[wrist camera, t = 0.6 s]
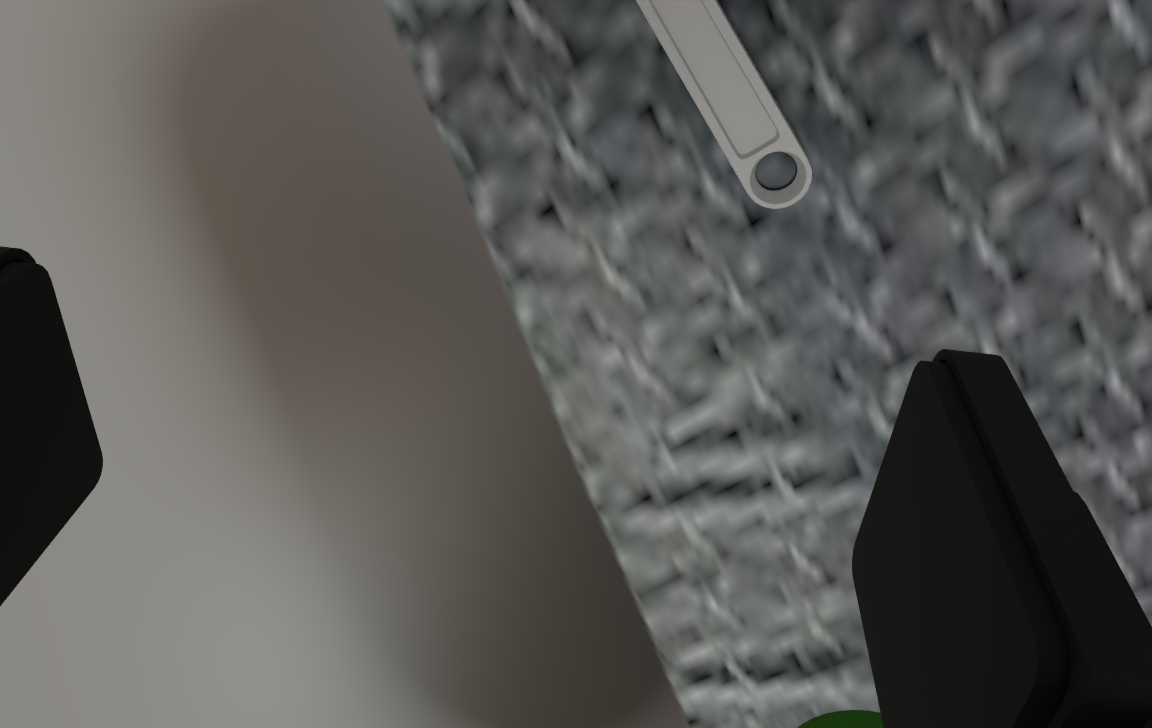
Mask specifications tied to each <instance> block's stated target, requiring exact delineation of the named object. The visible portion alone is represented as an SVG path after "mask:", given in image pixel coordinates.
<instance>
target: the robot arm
mask: <svg viewBox="0 0 1152 728" xmlns="http://www.w3.org/2000/svg"><path fill="white" fill-rule="evenodd" d="M102 467H103V457H102V452H101V448H100V445H99V441H98V438H97V434H96V431H95V428H94V424H93V421H92V418H91V414H90V411H89V408H88V404H87V401H86V397H85V394H84V390H83V387H82V384H81V380H80V377H79V373H78V370H77V366H76V363H75V359H74V356H73V353H72V349H71V346H70V342H69V339H68V336H67V332H66V329H65V326H64V322H63V319H62V315H61V312H60V308H59V305H58V302H57V298H56V295H55V291H54V288H53V285H52V281H51V278H50V276H49V274H48V272H47V270H46V269H45V268H44V267H43V266H41V265H39V264H36V262H35V260H34V259H33V258H32V256H31V255H30V254H29V253H28V252H26V251H24V250H22V249H19V248H18V249H17V248H9V247H0V606H1V605H2V603H3V602H4V601H5V600H6V598H7V597H8V596H9V595H10V593H11V592H12V591H13V590H14V588H15V587H16V586H17V584H18V583H19V582H20V581H21V579H22V578H23V577H24V576H25V575H26V573H27V572H28V571H29V569H30V568H31V567H32V566H33V564H34V563H35V562H36V561H37V559H38V558H39V557H40V556H41V554H42V553H43V552H44V551H45V549H46V548H47V547H48V546H49V544H50V543H51V542H52V541H53V539H54V538H55V537H56V536H57V534H58V533H59V532H60V530H61V529H62V528H63V527H64V525H65V524H66V523H67V522H68V520H69V519H70V518H71V517H72V515H73V514H74V513H75V512H76V510H77V509H78V508H79V506H80V505H81V504H82V503H83V502H84V500H85V499H86V498H87V496H88V495H89V494H90V493H91V491H92V490H93V489H94V488H95V486H96V484H97V483H98V481H99V478H100V476H101V472H102ZM852 573H853V580H854V585H855V590H856V595H857V600H858V604H859V609H860V614H861V619H862V624H863V629H864V634H865V638H866V643H867V648H868V653H869V658H870V663H871V668H872V673H873V677H874V682H875V687H876V692H877V697H878V702H879V707H880V711H881V716H882V721H883V726H884V728H1152V627H1151V625H1150V623H1149V621H1148V619H1147V617H1146V615H1145V614H1144V612H1143V610H1142V608H1141V606H1140V604H1139V602H1138V601H1137V599H1136V597H1135V595H1134V593H1133V591H1132V589H1131V587H1130V586H1129V584H1128V582H1127V580H1126V578H1125V576H1124V574H1123V572H1122V571H1121V569H1120V567H1119V565H1118V563H1117V561H1116V559H1115V557H1114V556H1113V554H1112V552H1111V550H1110V548H1109V546H1108V544H1107V542H1106V541H1105V539H1104V537H1103V535H1102V533H1101V531H1100V529H1099V527H1098V526H1097V524H1096V522H1095V520H1094V518H1093V516H1092V514H1091V513H1090V511H1089V509H1088V507H1087V505H1086V504H1085V502H1084V501H1083V500H1082V498H1081V497H1080V496H1079V494H1078V493H1076V492H1074V491H1073V490H1072V488H1071V486H1070V484H1069V482H1068V480H1067V478H1066V476H1065V475H1064V473H1063V471H1062V469H1061V467H1060V465H1059V463H1058V461H1057V459H1056V457H1055V456H1054V454H1053V452H1052V450H1051V448H1050V446H1049V444H1048V442H1047V440H1046V438H1045V437H1044V435H1043V433H1042V431H1041V429H1040V427H1039V425H1038V423H1037V421H1036V419H1035V418H1034V416H1033V414H1032V412H1031V410H1030V408H1029V406H1028V404H1027V402H1026V400H1025V399H1024V397H1023V395H1022V393H1021V391H1020V389H1019V387H1018V385H1017V383H1016V381H1015V380H1014V378H1013V376H1012V374H1011V372H1010V370H1009V368H1008V366H1007V364H1006V362H1005V361H1004V360H1003V359H1002V357H1001V356H998V355H993V354H983V353H974V352H965V351H956V350H947V349H943V350H941V351H939V352H938V353H937V355H936V356H935V358H934V359H933V362H930V361H920V362H918V364H917V365H916V366H915V368H914V371H913V373H912V376H911V379H910V382H909V385H908V387H907V390H906V393H905V396H904V399H903V402H902V405H901V408H900V411H899V414H898V417H897V420H896V423H895V426H894V429H893V432H892V435H891V438H890V441H889V444H888V447H887V450H886V453H885V455H884V458H883V461H882V464H881V467H880V470H879V473H878V476H877V479H876V482H875V485H874V488H873V491H872V494H871V497H870V500H869V503H868V506H867V509H866V512H865V515H864V518H863V520H862V523H861V526H860V529H859V532H858V535H857V538H856V541H855V545H854V549H853V557H852Z"/></svg>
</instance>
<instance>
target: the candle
mask: <svg viewBox="0 0 1152 728" xmlns="http://www.w3.org/2000/svg"><path fill="white" fill-rule="evenodd" d="M798 728H884V726H883V721H882V716H881V713H878V712H872V711H863V710H848V711H838V712H833V713H827V714H824V715H821V716H818V717H815V718H813V719H811V720H809V721H807V722H805V723H803V724H802V725H801V726H799V727H798Z"/></svg>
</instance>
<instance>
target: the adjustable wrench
mask: <svg viewBox="0 0 1152 728" xmlns="http://www.w3.org/2000/svg"><path fill="white" fill-rule="evenodd" d="M636 1H637V3H638V5H639V7H640V8H641V10H642V12H643V14H644V15H645V17H646V19H647V20H648V22H649V24H650V26H651V27H652V29H653V31H654V33H655V34H656V36H657V38H658V39H659V41H660V43H661V45H662V46H663V48H664V50H665V52H666V53H667V55H668V57H669V58H670V60H671V62H672V64H673V65H674V67H675V69H676V71H677V72H678V74H679V76H680V77H681V79H682V81H683V83H684V84H685V86H686V88H687V90H688V91H689V93H690V95H691V96H692V98H693V100H694V102H695V103H696V105H697V107H698V109H699V110H700V112H701V114H702V115H703V117H704V119H705V121H706V122H707V124H708V126H709V128H710V129H711V131H712V133H713V134H714V136H715V138H716V140H717V141H718V143H719V145H720V147H721V148H722V150H723V152H724V153H725V155H726V157H727V159H728V160H729V162H730V164H731V166H732V167H733V169H734V171H735V172H736V174H737V176H738V178H739V179H740V181H741V183H742V185H743V186H744V188H745V190H746V191H747V193H748V195H749V196H750V197H751V198H752V199H753V201H754V202H756V203H757V204H759V205H761V206H763V207H767V208H772V209H777V208H785V207H787V206H790V205H793V204H794V203H796V202H797V201H798V200H800V199H801V198H802V197H803V196H804V194H805V193H806V192H807V190H808V189H809V186H810V183H811V180H812V170H811V167H810V164H809V161H808V158H807V156H806V153H805V151H804V149H803V147H802V145H801V144H800V142H799V140H798V139H797V137H796V135H795V133H794V132H793V130H792V128H791V126H790V125H789V123H788V121H787V120H786V118H785V116H784V114H783V113H782V111H781V109H780V108H779V106H778V104H777V102H776V101H775V99H774V97H773V95H772V94H771V92H770V90H769V89H768V87H767V85H766V83H765V82H764V80H763V78H762V76H761V75H760V73H759V71H758V70H757V68H756V66H755V64H754V63H753V61H752V59H751V57H750V56H749V54H748V52H747V51H746V49H745V47H744V45H743V44H742V42H741V40H740V38H739V37H738V35H737V33H736V32H735V30H734V28H733V26H732V25H731V23H730V21H729V19H728V18H727V16H726V14H725V13H724V11H723V9H722V7H721V6H720V4H719V2H718V0H636ZM779 151H780V152H784V153H787V154H789V155H790V156H792V157H793V159H794V160H795V162H796V164H797V175H796V178H795V179H794V181H793V182H792V184H790V185H789V186H788V187H786V188H784V189H781V190H775V191H771V190H767V189H765V188H763V187H761V185H760V184H759V183H758V182H757V179H756V177H755V169H756V166H757V164H758V162H759V161H760V159H761V158H763V157H764V156H765V155H767V154H769V153H772V152H779Z"/></svg>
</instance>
